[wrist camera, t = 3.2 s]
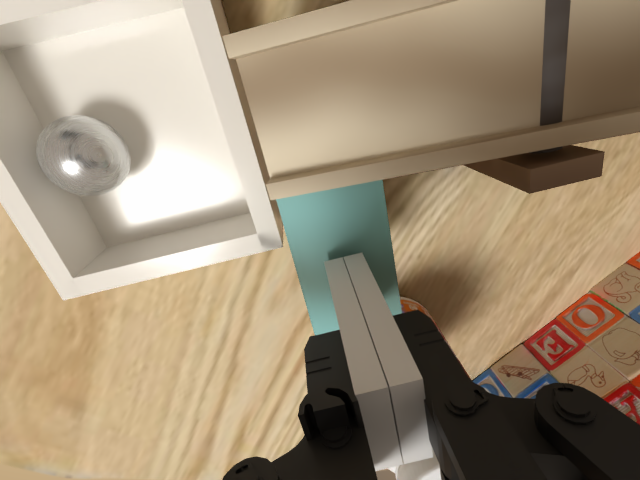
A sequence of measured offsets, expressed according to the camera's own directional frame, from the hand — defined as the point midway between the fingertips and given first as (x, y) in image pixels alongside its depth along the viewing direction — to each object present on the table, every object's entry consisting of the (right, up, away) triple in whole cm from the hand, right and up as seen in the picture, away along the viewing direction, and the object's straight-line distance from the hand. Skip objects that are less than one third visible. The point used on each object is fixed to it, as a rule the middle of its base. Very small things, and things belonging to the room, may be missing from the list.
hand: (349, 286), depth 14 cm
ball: (-12, +6, +2) cm, 13 cm away
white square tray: (-10, +7, +4) cm, 13 cm away
